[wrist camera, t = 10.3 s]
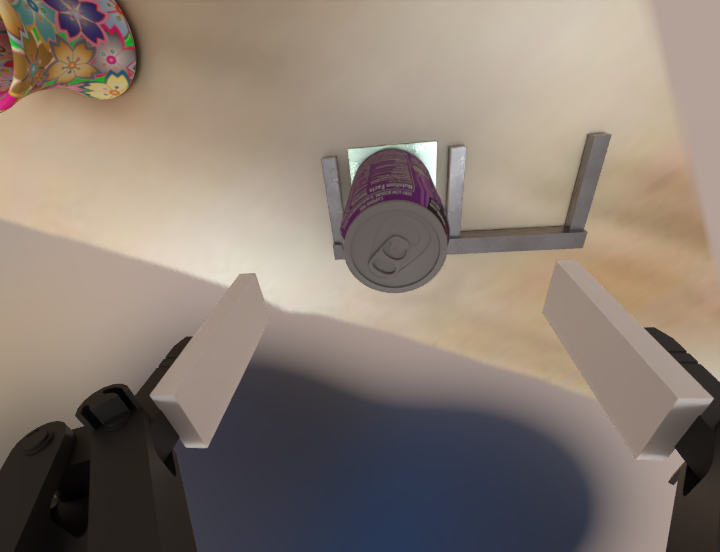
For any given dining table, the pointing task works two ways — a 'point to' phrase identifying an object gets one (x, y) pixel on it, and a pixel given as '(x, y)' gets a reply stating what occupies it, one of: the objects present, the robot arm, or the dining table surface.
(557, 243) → the grey flat frame
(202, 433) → the robot arm
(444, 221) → the beverage can
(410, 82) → the dining table surface
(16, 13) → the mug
